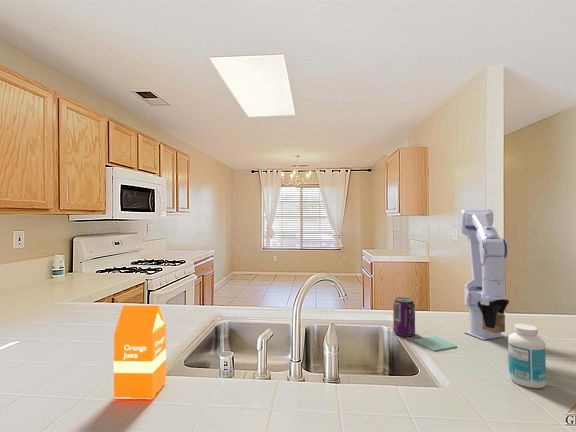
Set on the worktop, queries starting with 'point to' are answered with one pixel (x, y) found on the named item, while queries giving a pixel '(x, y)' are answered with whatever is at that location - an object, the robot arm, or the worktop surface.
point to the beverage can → (404, 316)
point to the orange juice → (139, 352)
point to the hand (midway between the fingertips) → (493, 325)
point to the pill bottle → (527, 357)
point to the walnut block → (497, 324)
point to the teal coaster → (435, 343)
